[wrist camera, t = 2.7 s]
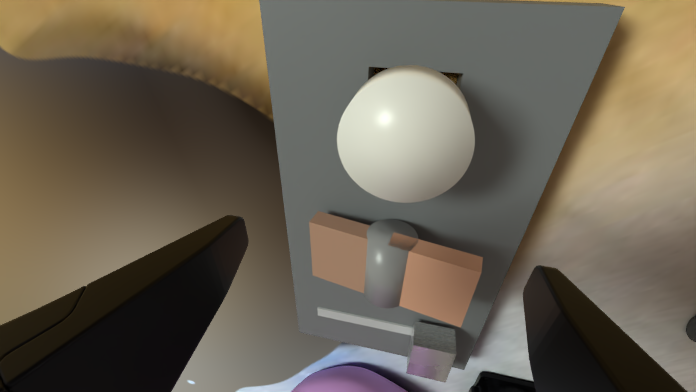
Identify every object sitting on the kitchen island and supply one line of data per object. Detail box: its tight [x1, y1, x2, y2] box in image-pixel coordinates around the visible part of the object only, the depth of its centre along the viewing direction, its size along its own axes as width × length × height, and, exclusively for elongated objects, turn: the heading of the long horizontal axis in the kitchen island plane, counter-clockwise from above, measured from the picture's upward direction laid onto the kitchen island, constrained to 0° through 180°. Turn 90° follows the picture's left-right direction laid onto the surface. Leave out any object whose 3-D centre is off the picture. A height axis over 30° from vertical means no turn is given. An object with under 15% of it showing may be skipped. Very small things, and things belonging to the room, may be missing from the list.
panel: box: [259, 0, 625, 370], centre depth 22 cm, size 15×27×2 cm, turn 179°
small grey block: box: [406, 321, 456, 382], centre depth 25 cm, size 3×4×2 cm
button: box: [337, 65, 475, 203], centre depth 15 cm, size 6×6×4 cm
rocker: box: [309, 211, 483, 327], centre depth 20 cm, size 10×5×3 cm, turn 89°
